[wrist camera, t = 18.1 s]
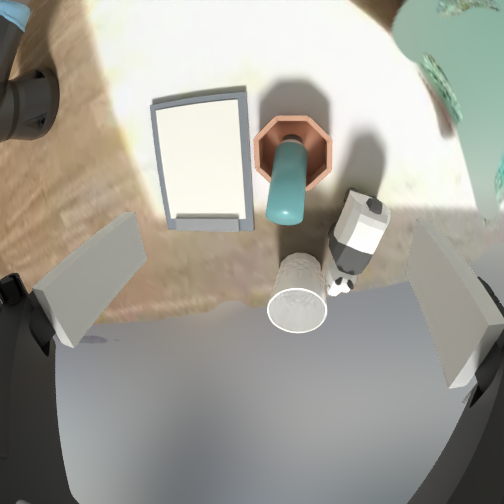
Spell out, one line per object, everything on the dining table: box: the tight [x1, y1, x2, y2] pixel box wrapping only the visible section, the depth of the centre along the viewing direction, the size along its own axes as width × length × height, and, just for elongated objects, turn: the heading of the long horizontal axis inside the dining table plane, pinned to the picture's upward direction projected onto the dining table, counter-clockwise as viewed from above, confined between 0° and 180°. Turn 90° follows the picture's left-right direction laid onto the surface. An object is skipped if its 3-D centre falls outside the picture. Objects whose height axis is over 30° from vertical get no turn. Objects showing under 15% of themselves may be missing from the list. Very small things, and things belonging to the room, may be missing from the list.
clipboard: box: [150, 92, 255, 232], centre depth 38 cm, size 20×14×2 cm
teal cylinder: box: [266, 134, 308, 225], centre depth 31 cm, size 4×4×11 cm
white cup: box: [267, 253, 327, 333], centre depth 40 cm, size 8×8×10 cm
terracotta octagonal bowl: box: [253, 115, 332, 191], centre depth 33 cm, size 9×9×4 cm
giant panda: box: [325, 188, 391, 297], centre depth 35 cm, size 15×6×10 cm, turn 166°
